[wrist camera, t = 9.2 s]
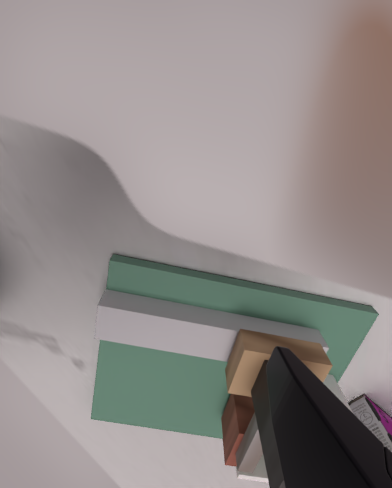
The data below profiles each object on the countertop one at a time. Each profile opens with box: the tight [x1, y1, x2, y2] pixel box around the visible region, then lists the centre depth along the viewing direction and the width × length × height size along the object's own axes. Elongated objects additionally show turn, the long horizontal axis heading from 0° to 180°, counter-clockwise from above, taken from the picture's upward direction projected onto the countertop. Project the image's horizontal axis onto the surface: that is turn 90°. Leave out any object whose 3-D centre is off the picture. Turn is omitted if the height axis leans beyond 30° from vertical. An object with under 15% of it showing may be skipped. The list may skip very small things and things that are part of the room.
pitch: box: [91, 254, 379, 483], centre depth 23 cm, size 21×18×4 cm
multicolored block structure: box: [221, 329, 333, 488], centre depth 20 cm, size 6×12×10 cm, turn 167°
